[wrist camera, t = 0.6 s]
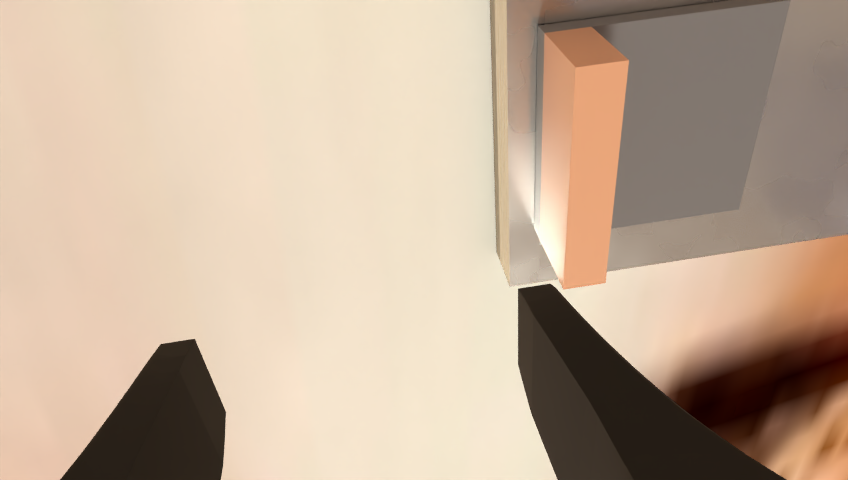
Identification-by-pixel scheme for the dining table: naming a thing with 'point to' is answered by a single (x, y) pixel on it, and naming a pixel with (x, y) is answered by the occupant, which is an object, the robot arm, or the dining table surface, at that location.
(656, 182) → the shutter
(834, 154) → the socket plate
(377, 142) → the dining table surface
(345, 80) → the dining table surface
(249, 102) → the dining table surface
